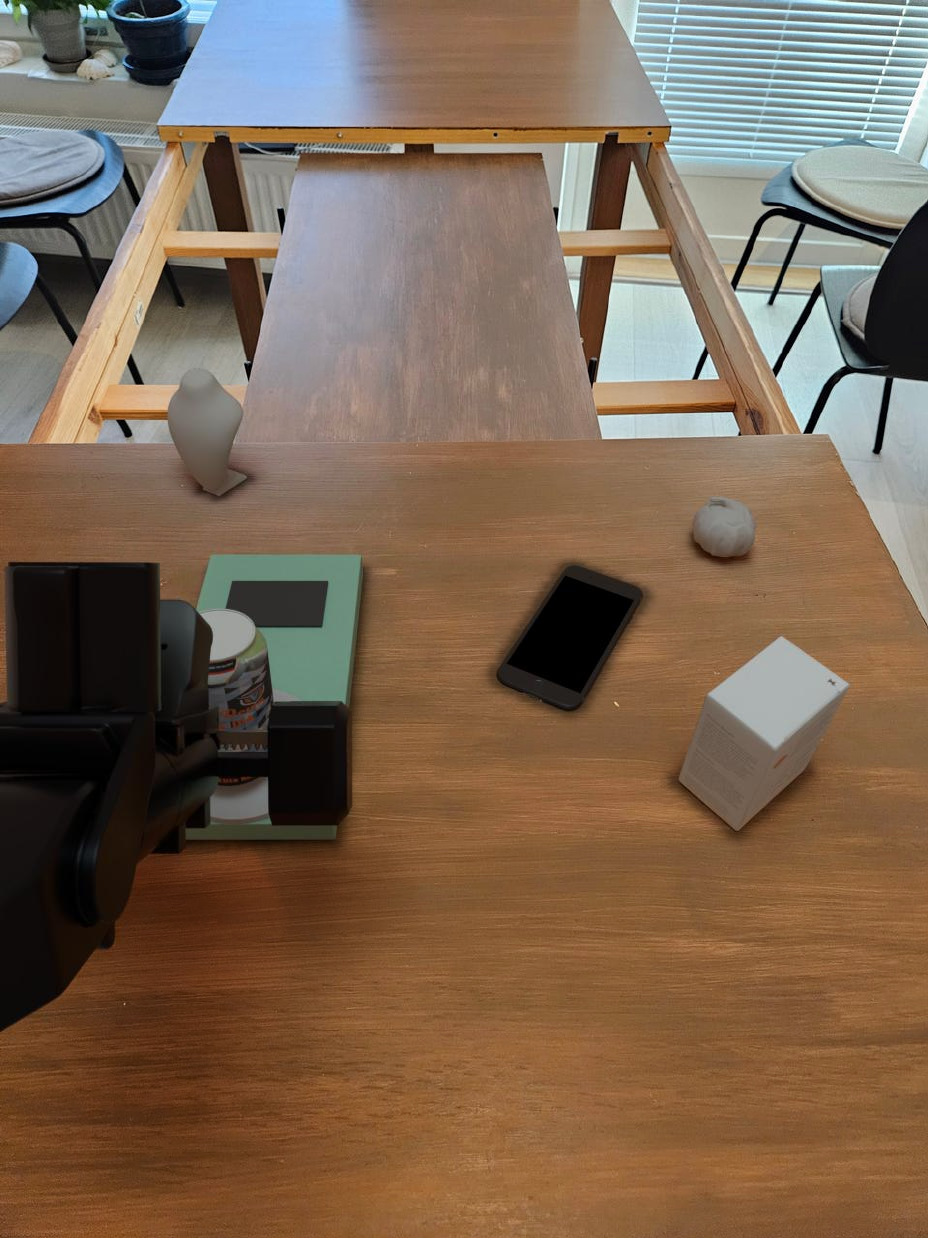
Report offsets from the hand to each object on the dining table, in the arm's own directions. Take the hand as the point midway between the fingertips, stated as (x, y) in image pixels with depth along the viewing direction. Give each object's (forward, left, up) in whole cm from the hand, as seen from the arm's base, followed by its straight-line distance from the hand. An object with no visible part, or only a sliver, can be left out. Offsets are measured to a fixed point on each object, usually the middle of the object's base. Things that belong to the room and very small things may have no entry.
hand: (214, 734), depth 54 cm
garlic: (+39, -27, -10) cm, 49 cm away
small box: (+15, -32, -10) cm, 37 cm away
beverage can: (+3, +1, -8) cm, 8 cm away
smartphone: (+24, -17, -11) cm, 32 cm away
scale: (+11, +4, -10) cm, 15 cm away
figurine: (+32, +20, -10) cm, 39 cm away
